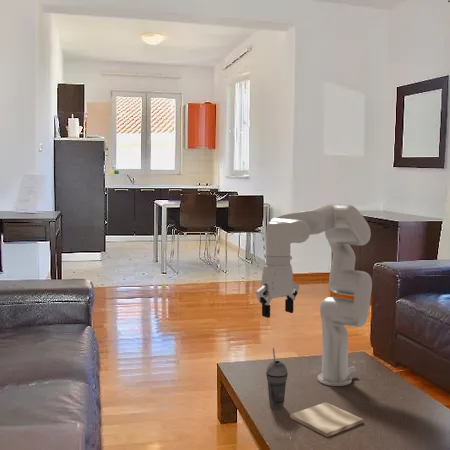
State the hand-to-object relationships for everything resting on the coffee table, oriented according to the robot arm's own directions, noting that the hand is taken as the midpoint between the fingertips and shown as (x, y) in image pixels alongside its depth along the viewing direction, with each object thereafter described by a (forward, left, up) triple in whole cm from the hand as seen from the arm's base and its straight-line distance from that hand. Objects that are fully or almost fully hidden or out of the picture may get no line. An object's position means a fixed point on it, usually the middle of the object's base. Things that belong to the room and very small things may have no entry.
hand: (277, 314), depth 177 cm
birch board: (-11, +11, -33) cm, 37 cm away
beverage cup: (-5, -6, -34) cm, 34 cm away
